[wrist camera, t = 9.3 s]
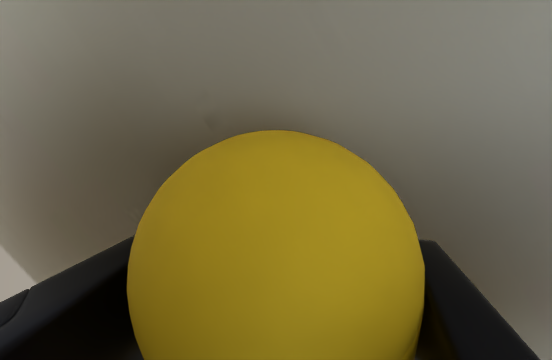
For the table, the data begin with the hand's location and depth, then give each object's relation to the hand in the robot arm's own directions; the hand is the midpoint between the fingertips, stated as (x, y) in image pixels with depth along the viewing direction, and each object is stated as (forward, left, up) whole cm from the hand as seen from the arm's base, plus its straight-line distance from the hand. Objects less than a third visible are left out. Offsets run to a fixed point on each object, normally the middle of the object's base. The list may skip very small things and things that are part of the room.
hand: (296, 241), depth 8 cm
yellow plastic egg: (0, 0, -1) cm, 1 cm away
